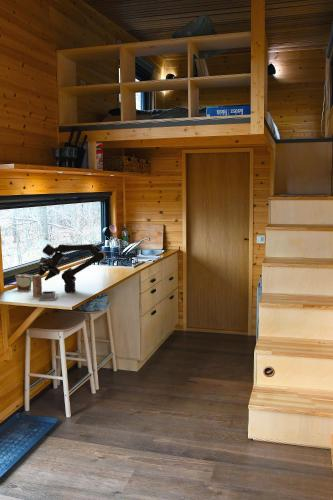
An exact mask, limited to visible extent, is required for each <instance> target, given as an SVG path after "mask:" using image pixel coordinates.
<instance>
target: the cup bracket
mask: <svg viewBox="0 0 333 500" xmlns="http://www.w3.org/2000/svg"><path fill="white" fill-rule="evenodd" d="M58 297H59V296H58V294H56V291H54V290H49V291H48V290H45V291H43V290H42V294H41V296H39V299H38V300H39V302H40V301H41V302H44V301H57V299H58Z"/></svg>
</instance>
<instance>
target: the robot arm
mask: <svg viewBox="0 0 333 500" xmlns="http://www.w3.org/2000/svg"><path fill="white" fill-rule="evenodd" d="M73 251H76V252H77V251H78V252H79V251H89V252H90V253H91V255H93V256H92V257H90V258H89V259H87V260H86V261H84V262H82V263H81V264H79V265H77V266H75V267H73V268H72V267H71V266H70V267H69V268H67V269H65V270H63V273H62V274H61V279H62V280H63V282H64V293H76V292H77V291H76V280H77V277H76V276H75V275H77V273H80V272H81V271H83V270H84V269H86V268H88V267H90V266H92V265H93V264H97V263H100V262H101V261H103V260H104V259H105V258H106V256H107V254H106V252H105V251H103V250H101V249H100V248H98V247H97V246H96V245H95V244H94V243H83V244H82V243H81V244H73V243H72V244H71V243H65V242H64V243H61V244H59V245H57V246H56V247H54V246H52V245H51V244H50V243H47V244H46V245H45V247H43V249H42V251H41V252H42V253H43V254H45V255H47V256H48V257H42V256H41V258H40V261H39V263H38V264H37V268H38V272H37V275H41V277H43V276H44V275H45V274H46V273H47V272H48V273H47V275H46V276H45V277H44V281H48V280H50V279H51V278H53V277H56V276H57V275H58V276H59V275H60V273H61V270H60V269H59V268H58V266H60V262H61V260H63V259H65V260H66V259H67V255H66V253H68V252H73Z"/></svg>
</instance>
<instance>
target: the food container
mask: <svg viewBox="0 0 333 500" xmlns="http://www.w3.org/2000/svg"><path fill="white" fill-rule="evenodd" d="M14 277H15V281H16V286H17V291H25V292H29V291H31V290H32V282H33V281H32V274H30V273H29V274H28V273H22V274H20V273H19V274H15V276H14Z"/></svg>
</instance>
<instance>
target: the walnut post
mask: <svg viewBox="0 0 333 500" xmlns="http://www.w3.org/2000/svg"><path fill="white" fill-rule="evenodd" d="M31 275H32V274H31ZM31 282H32V296H34V297H41V294H42V292H43V288H42V287H43V286H42V284H43V283H42V276H41V275H38V274H34V275H32V281H31Z"/></svg>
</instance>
